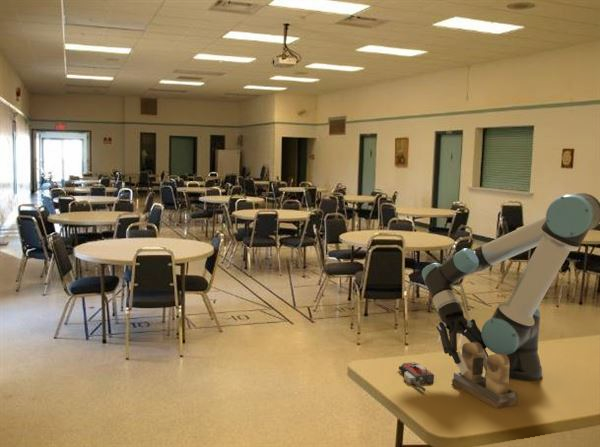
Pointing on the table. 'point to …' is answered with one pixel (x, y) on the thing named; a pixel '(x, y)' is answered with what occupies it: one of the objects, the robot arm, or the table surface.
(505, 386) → the rail
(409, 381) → the walkie-talkie
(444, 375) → the table surface
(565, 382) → the table surface
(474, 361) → the block
